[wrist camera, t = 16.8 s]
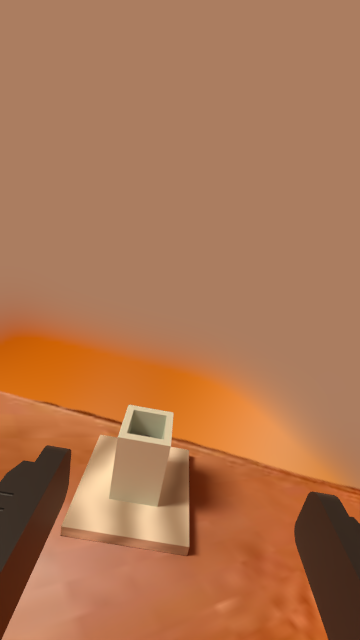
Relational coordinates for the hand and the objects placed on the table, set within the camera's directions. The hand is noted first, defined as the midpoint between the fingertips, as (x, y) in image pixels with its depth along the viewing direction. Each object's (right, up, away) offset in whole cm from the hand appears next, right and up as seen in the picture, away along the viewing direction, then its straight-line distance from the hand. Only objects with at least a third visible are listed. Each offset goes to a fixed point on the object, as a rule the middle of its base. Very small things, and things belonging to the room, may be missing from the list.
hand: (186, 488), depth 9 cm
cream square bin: (-6, -17, +30) cm, 35 cm away
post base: (-7, -19, +30) cm, 36 cm away
